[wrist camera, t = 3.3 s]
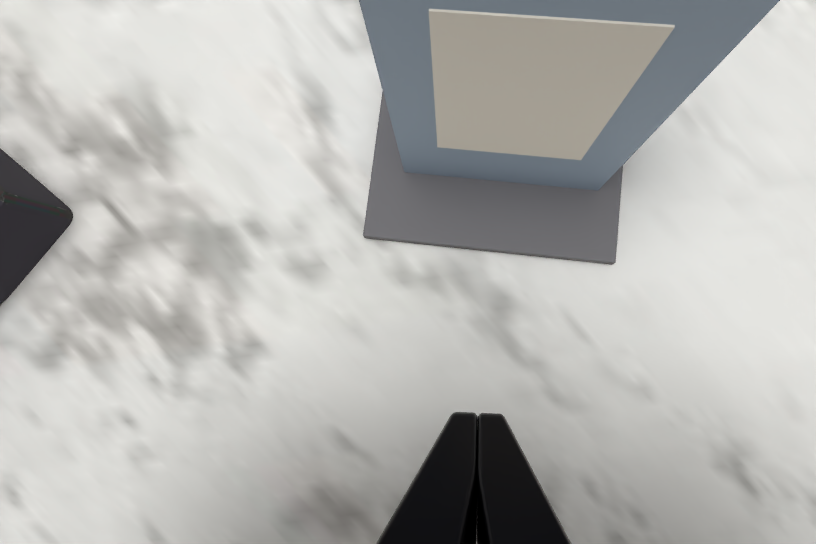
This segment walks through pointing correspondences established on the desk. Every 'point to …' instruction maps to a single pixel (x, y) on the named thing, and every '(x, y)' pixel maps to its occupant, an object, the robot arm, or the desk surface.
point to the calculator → (25, 223)
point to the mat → (488, 210)
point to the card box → (542, 80)
